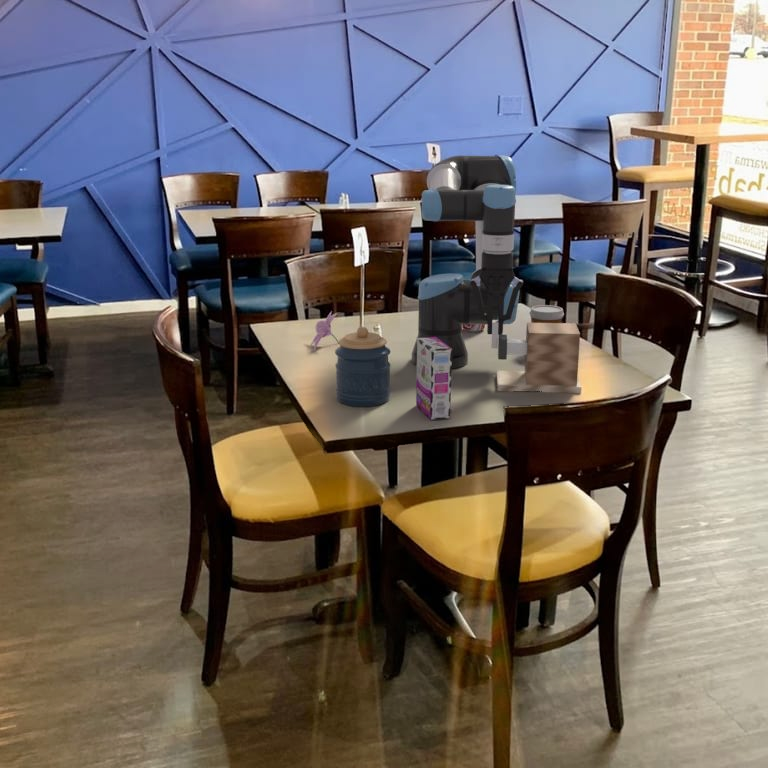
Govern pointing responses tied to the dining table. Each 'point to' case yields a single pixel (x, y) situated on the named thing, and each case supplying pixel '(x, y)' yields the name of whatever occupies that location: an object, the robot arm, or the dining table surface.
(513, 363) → the dining table surface
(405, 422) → the dining table surface
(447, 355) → the candy bar box
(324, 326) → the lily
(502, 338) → the shaft
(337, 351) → the canister
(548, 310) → the disposable coffee cup
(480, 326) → the soda can
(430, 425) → the dining table surface
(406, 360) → the dining table surface
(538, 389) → the block
